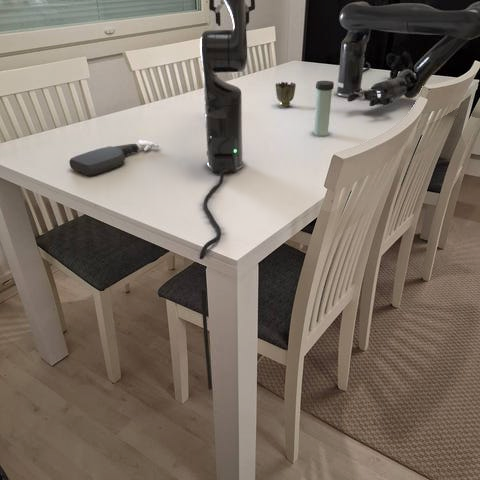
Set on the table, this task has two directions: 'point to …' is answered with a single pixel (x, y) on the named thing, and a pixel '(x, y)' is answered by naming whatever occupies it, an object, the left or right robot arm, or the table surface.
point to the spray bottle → (106, 157)
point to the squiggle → (398, 63)
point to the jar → (322, 112)
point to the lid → (324, 85)
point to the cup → (285, 93)
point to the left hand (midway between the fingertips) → (232, 25)
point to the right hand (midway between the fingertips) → (359, 100)
